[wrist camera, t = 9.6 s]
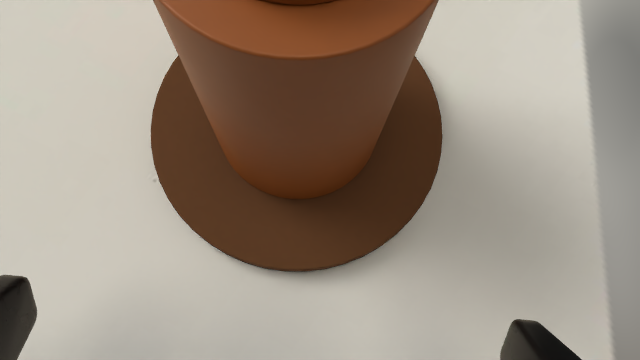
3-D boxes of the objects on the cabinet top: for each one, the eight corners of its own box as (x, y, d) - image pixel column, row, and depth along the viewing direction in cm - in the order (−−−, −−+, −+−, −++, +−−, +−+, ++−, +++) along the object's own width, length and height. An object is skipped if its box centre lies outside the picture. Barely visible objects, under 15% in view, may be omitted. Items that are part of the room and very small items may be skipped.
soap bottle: (360, 216, 17) (472, 29, 6) (198, 179, 17) (13, -72, 6) (392, 57, 19) (524, -308, 8) (246, 25, 19) (172, -379, 8)
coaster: (490, 194, 18) (496, 190, 17) (220, 325, 16) (217, 325, 16) (359, -27, 20) (361, -37, 20) (115, 65, 19) (109, 57, 18)
